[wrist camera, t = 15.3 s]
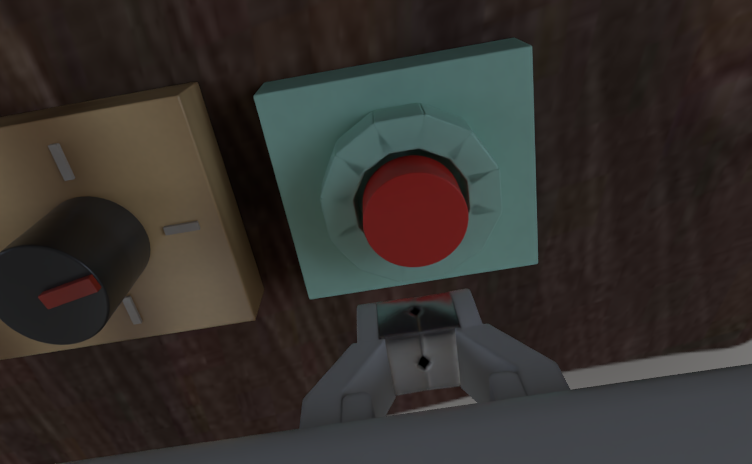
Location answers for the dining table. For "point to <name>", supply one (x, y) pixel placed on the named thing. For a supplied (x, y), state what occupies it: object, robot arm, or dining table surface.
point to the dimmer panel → (137, 206)
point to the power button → (414, 211)
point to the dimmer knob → (71, 270)
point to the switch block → (404, 138)
